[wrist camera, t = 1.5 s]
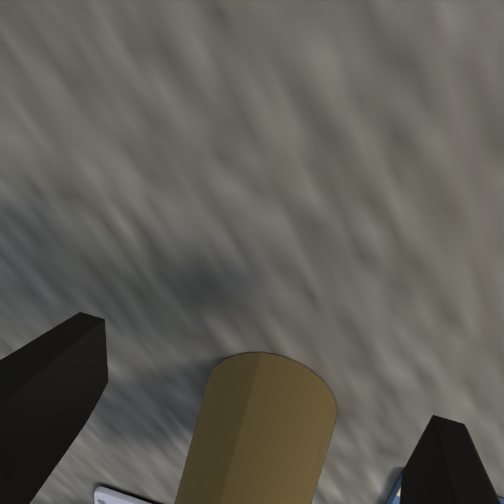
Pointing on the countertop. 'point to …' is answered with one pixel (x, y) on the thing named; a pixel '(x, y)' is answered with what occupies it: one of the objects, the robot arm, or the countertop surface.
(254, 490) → the cork
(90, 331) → the robot arm
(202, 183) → the countertop surface
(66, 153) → the countertop surface
